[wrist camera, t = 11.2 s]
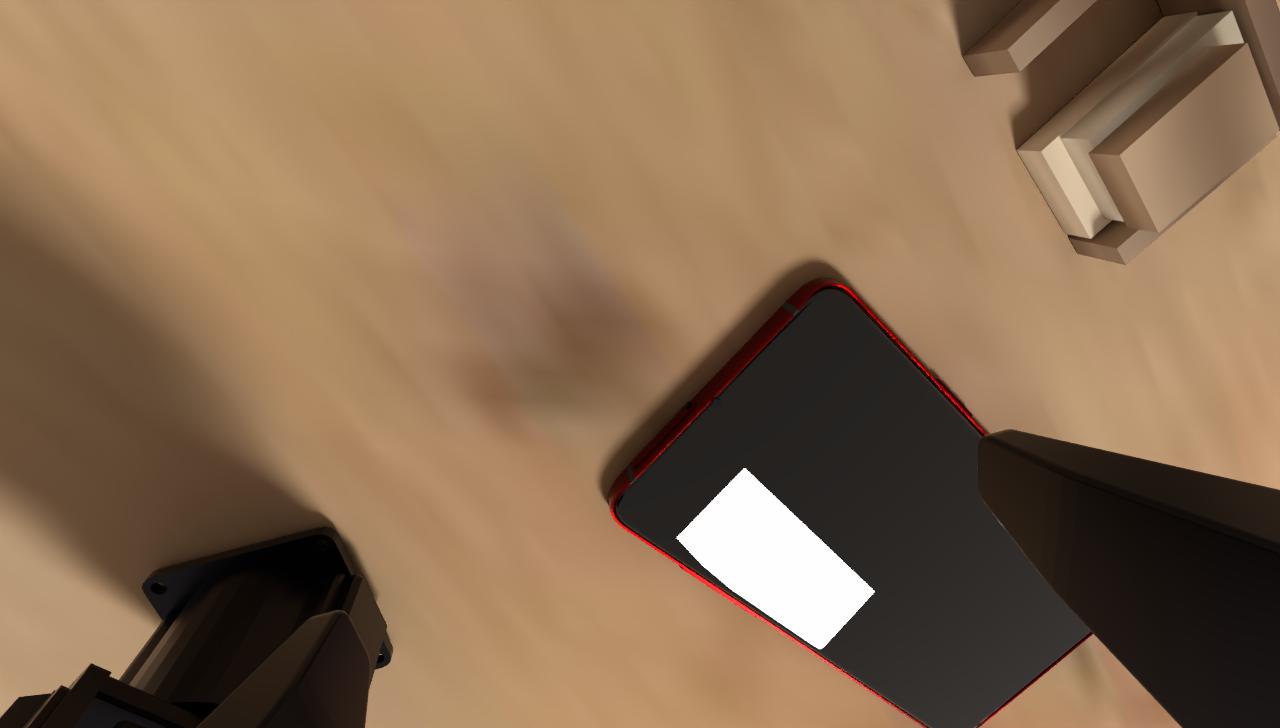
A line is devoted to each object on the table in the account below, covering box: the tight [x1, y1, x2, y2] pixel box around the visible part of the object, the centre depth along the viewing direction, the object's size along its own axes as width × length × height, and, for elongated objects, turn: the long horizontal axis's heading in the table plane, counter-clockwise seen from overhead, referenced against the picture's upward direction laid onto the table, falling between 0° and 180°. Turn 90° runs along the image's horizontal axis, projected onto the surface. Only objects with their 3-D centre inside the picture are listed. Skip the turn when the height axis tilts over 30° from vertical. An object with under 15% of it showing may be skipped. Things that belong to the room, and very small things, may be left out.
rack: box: [963, 0, 1280, 265], centre depth 18 cm, size 7×15×2 cm, turn 43°
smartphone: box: [608, 278, 1093, 728], centre depth 27 cm, size 12×2×25 cm
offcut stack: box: [1017, 10, 1279, 239], centre depth 20 cm, size 6×4×3 cm, turn 133°
